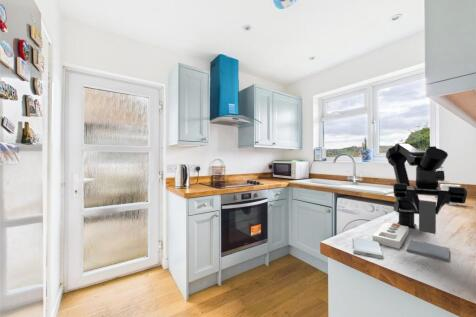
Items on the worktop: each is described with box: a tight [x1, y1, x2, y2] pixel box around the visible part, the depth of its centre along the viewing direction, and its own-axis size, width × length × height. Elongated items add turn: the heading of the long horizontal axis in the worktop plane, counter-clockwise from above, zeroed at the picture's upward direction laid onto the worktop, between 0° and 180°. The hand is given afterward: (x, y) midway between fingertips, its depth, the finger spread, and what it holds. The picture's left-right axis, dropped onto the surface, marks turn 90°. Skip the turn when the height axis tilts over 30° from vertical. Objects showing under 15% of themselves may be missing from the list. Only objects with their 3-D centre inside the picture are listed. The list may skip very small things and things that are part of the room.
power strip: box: [372, 222, 410, 250], centre depth 81 cm, size 22×8×3 cm, turn 133°
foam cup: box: [439, 183, 461, 206], centre depth 138 cm, size 10×9×13 cm
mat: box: [406, 239, 450, 263], centre depth 69 cm, size 11×10×1 cm
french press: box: [432, 166, 450, 201], centre depth 154 cm, size 10×12×25 cm
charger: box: [418, 199, 437, 235], centre depth 69 cm, size 4×4×10 cm
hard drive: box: [352, 237, 384, 260], centre depth 71 cm, size 2×8×12 cm
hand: (427, 212), depth 68 cm, fingers closed on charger, 4 cm apart
